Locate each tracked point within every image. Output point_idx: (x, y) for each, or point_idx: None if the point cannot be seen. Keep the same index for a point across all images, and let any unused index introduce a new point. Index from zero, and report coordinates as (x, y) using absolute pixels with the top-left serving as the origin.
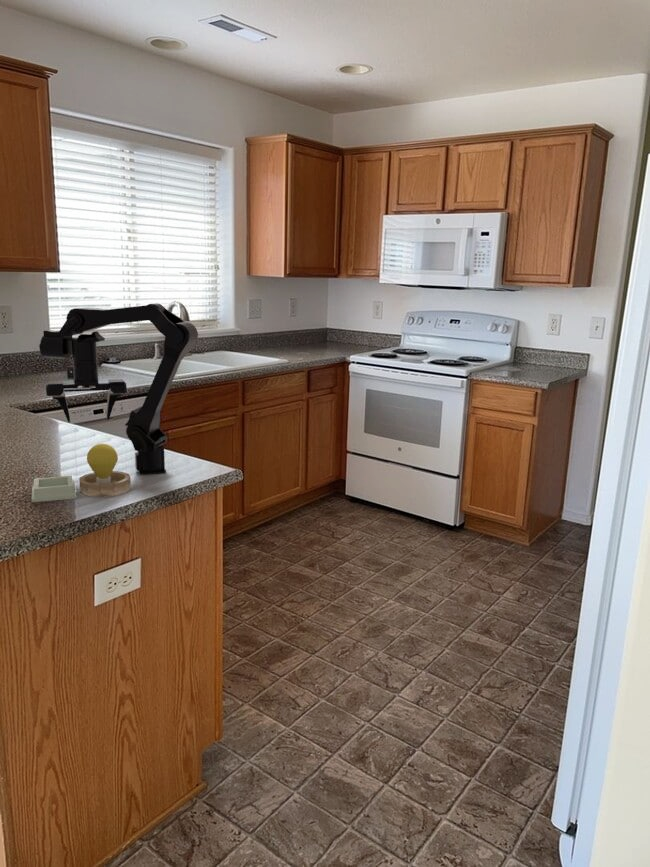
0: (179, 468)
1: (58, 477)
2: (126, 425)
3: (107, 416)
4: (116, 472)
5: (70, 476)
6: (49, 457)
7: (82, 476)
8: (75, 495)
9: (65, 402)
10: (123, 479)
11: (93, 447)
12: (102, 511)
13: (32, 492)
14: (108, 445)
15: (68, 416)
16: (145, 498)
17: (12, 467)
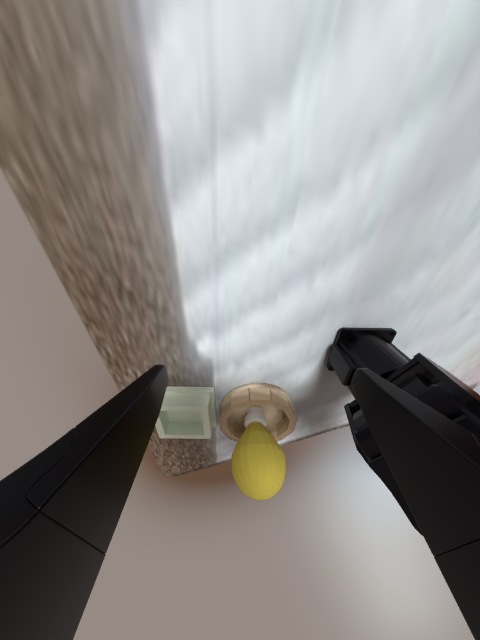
0: (413, 348)
1: (186, 409)
2: (371, 464)
3: (362, 409)
4: (280, 409)
5: (205, 409)
6: (115, 107)
7: (224, 413)
8: (215, 426)
9: (87, 582)
10: (281, 434)
11: (244, 492)
12: None
13: None
14: (273, 495)
15: (151, 421)
16: (295, 438)
17: (43, 224)
